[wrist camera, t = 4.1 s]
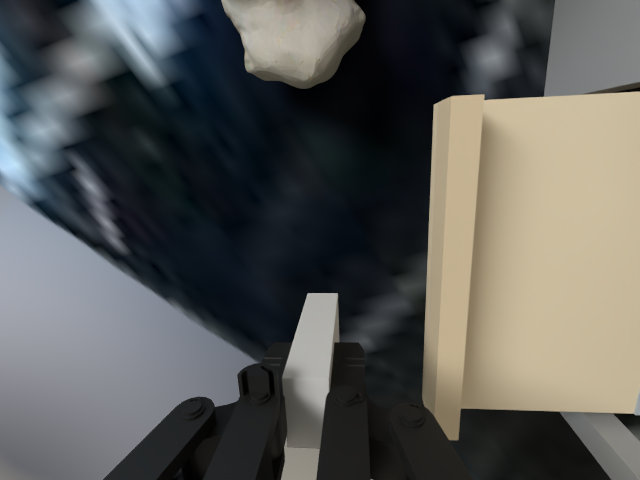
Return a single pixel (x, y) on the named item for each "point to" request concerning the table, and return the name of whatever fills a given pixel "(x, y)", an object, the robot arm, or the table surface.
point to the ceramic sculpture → (295, 37)
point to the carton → (597, 78)
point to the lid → (533, 256)
